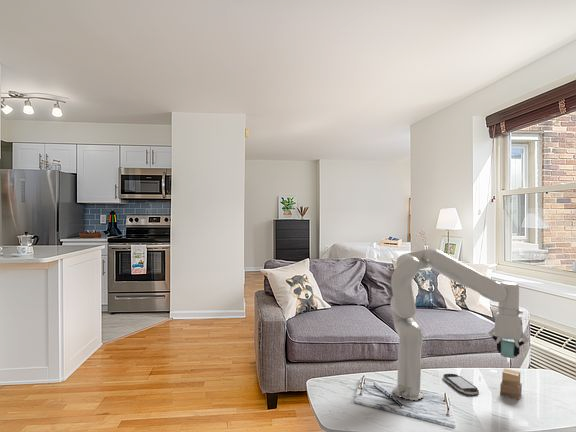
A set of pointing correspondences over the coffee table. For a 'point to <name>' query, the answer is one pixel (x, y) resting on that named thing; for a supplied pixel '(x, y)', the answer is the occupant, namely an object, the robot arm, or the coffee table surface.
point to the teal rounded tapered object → (508, 348)
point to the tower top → (511, 377)
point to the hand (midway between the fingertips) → (507, 353)
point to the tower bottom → (511, 391)
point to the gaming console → (461, 384)
